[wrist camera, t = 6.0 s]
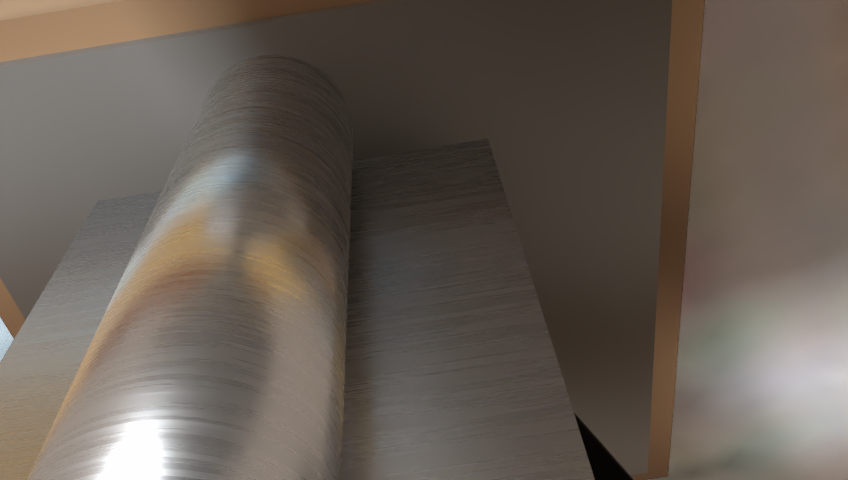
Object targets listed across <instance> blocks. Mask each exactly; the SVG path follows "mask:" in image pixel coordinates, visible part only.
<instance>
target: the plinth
mask: <svg viewBox="0 0 848 480" xmlns="http://www.w3.org/2000/svg"><path fill="white" fill-rule="evenodd" d="M704 5H705V0H0V317H1V319H2V320H3V322H4V324H5V325H6V327H7V328H8V330H9V332H10V333H11V335H12V336H13V338H14V339H15V337H16V335H17V334H18V332H19V330H20V329H21V327H22V325H23V324H24V322H25V320H26V319H27V317H28V315H29V314H30V312H31V310H32V309H33V307H34V305H35V304H36V302H37V300H38V299H39V297H40V295H41V294H42V292H43V290H44V289H45V287H46V285H47V284H48V282H49V280H50V279H51V277H52V275H53V274H54V272H55V270H56V269H57V267H58V265H59V264H60V262H61V260H62V259H63V257H64V256H65V254H66V252H67V251H68V249H69V247H70V246H71V244H72V242H73V241H74V239H75V237H76V236H77V234H78V232H79V231H80V229H81V227H82V226H83V224H84V222H85V221H86V219H87V217H88V216H89V214H90V212H91V211H92V209H93V207H94V206H95V204H96V202H97V201H101V200H108V199H114V198H120V197H126V196H132V195H139V194H145V193H151V192H157V191H162V190H163V188H164V186H165V183H166V181H167V179H168V177H169V175H170V173H171V171H172V168H173V166H174V164H175V162H176V160H177V158H178V156H179V154H180V151H181V149H182V147H183V145H184V143H185V141H186V139H187V136H188V134H189V132H190V130H191V128H192V126H193V124H194V121H195V119H196V117H197V115H198V113H199V111H200V109H201V106H202V104H203V102H204V100H205V98H206V96H207V94H208V92H209V90H210V88H211V86H212V85H213V83H214V82H215V81H216V79H217V78H218V77H219V76H220V75H221V74H222V73H223V72H224V71H225V70H227V69H228V68H229V67H231V66H233V65H234V64H236V63H238V62H240V61H243V60H245V59H248V58H252V57H256V56H262V55H282V56H289V57H293V58H296V59H300V60H302V61H305V62H307V63H310V64H311V65H313V66H315V67H317V68H318V69H320V70H321V71H323V72H324V73H325V74H327V75H328V76H329V77H330V78H331V79H332V80H333V81H334V82H335V83H336V84H337V86H338V87H339V88H340V89H341V91H342V92H343V94H344V96H345V97H346V99H347V102H348V104H349V106H350V109H351V113H352V118H353V160H357V159H364V158H370V157H376V156H382V155H389V154H395V153H401V152H407V151H414V150H420V149H426V148H432V147H439V146H445V145H451V144H457V143H464V142H470V141H476V140H482V139H488V140H489V144H490V147H491V150H492V153H493V156H494V160H495V163H496V166H497V169H498V172H499V176H500V179H501V182H502V185H503V188H504V191H505V195H506V198H507V201H508V204H509V207H510V211H511V214H512V217H513V220H514V223H515V227H516V230H517V233H518V236H519V239H520V242H521V246H522V249H523V252H524V255H525V258H526V262H527V265H528V268H529V271H530V274H531V278H532V281H533V284H534V287H535V290H536V294H537V297H538V300H539V303H540V306H541V309H542V313H543V316H544V319H545V322H546V325H547V329H548V332H549V335H550V338H551V341H552V345H553V348H554V351H555V354H556V357H557V361H558V364H559V367H560V370H561V373H562V376H563V380H564V383H565V386H566V389H567V392H568V396H569V399H570V402H571V405H572V408H573V412H574V413H575V414H576V415H577V416H578V417H579V418H580V419H581V420H582V422H583V423H584V424H585V425H586V426H587V427H588V428H589V429H590V430H591V431H592V433H593V434H594V435H595V436H596V437H597V438H598V439H599V440H600V441H601V443H602V444H603V445H604V446H605V447H606V448H607V449H608V450H609V451H610V453H611V454H612V455H613V456H614V457H615V458H616V459H617V460H618V461H619V463H620V464H621V465H622V466H623V467H624V468H625V469H626V470H627V471H628V473H629V474H630V475H631V476H632V477H633V478H634V479H635V480H646V479H653V478H660V477H667V476H668V470H669V457H670V444H671V431H672V418H673V405H674V392H675V379H676V367H677V354H678V341H679V328H680V315H681V302H682V289H683V276H684V263H685V250H686V238H687V225H688V212H689V199H690V186H691V173H692V160H693V147H694V134H695V121H696V108H697V96H698V83H699V70H700V57H701V44H702V31H703V18H704Z"/></svg>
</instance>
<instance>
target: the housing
mask: <svg viewBox="0 0 848 480" xmlns="http://www.w3.org/2000/svg"><path fill="white" fill-rule="evenodd" d="M0 480H595V479H594V475H593V472H592V469H591V466H590V463H589V459H588V456H587V453H586V450H585V447H584V443H583V440H582V437H581V434H580V431H579V428H578V424H577V421H576V418H575V415H574V412H573V408H572V405H571V402H570V399H569V396H568V392H567V389H566V386H565V383H564V380H563V376H562V373H561V370H560V367H559V364H558V361H557V357H556V354H555V351H554V348H553V345H552V341H551V338H550V335H549V332H548V329H547V325H546V322H545V319H544V316H543V313H542V309H541V306H540V303H539V300H538V297H537V294H536V290H535V287H534V284H533V281H532V278H531V274H530V271H529V268H528V265H527V262H526V258H525V255H524V252H523V249H522V246H521V242H520V239H519V236H518V233H517V230H516V227H515V223H514V220H513V217H512V214H511V211H510V207H509V204H508V201H507V198H506V195H505V191H504V188H503V185H502V182H501V179H500V176H499V172H498V169H497V166H496V163H495V160H494V156H493V153H492V150H491V147H490V144H489V140H488V139H482V140H476V141H470V142H464V143H457V144H451V145H445V146H439V147H432V148H426V149H420V150H414V151H407V152H401V153H395V154H389V155H382V156H376V157H370V158H364V159H357V160H353V118H352V113H351V109H350V106H349V104H348V102H347V99H346V97H345V96H344V94H343V92H342V91H341V89H340V88H339V87H338V86H337V84H336V83H335V82H334V81H333V80H332V79H331V78H330V77H329V76H328V75H327V74H325V73H324V72H323V71H321V70H320V69H318V68H317V67H315V66H313V65H311V64H310V63H307V62H305V61H302V60H300V59H296V58H293V57H289V56H282V55H262V56H256V57H252V58H248V59H245V60H243V61H240V62H238V63H236V64H234V65H233V66H231V67H229V68H228V69H227V70H225V71H224V72H223V73H222V74H221V75H220V76H219V77H218V78H217V79H216V81H215V82H214V83H213V85H212V86H211V88H210V90H209V92H208V94H207V96H206V98H205V100H204V102H203V104H202V106H201V109H200V111H199V113H198V115H197V117H196V119H195V121H194V124H193V126H192V128H191V130H190V132H189V134H188V136H187V139H186V141H185V143H184V145H183V147H182V149H181V151H180V154H179V156H178V158H177V160H176V162H175V164H174V166H173V168H172V171H171V173H170V175H169V177H168V179H167V181H166V183H165V186H164V188H163V190H162V191H157V192H151V193H145V194H139V195H132V196H126V197H120V198H114V199H108V200H101V201H97V202H96V204H95V206H94V207H93V209H92V211H91V212H90V214H89V216H88V217H87V219H86V221H85V222H84V224H83V226H82V227H81V229H80V231H79V232H78V234H77V236H76V237H75V239H74V241H73V242H72V244H71V246H70V247H69V249H68V251H67V252H66V254H65V256H64V257H63V259H62V260H61V262H60V264H59V265H58V267H57V269H56V270H55V272H54V274H53V275H52V277H51V279H50V280H49V282H48V284H47V285H46V287H45V289H44V290H43V292H42V294H41V295H40V297H39V299H38V300H37V302H36V304H35V305H34V307H33V309H32V310H31V312H30V314H29V315H28V317H27V319H26V320H25V322H24V324H23V325H22V327H21V329H20V330H19V332H18V334H17V335H16V337H15V339H14V340H13V342H12V344H11V345H10V347H9V349H8V350H7V352H6V354H5V355H4V357H3V359H2V360H1V362H0Z"/></svg>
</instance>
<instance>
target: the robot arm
mask: <svg viewBox="0 0 848 480" xmlns="http://www.w3.org/2000/svg"><path fill="white" fill-rule="evenodd" d="M574 415H575V418H576V421H577V424H578V428H579V431H580V434H581V437H582V440H583V443H584V447H585V450H586V453H587V456H588V459H589V463H590V466H591V469H592V472H593V475H594V479H595V480H635V479H634V478H633V477H632V476H631V475H630V474H629V473H628V471H627V470H626V469H625V468H624V467H623V466H622V465H621V464H620V463H619V461H618V460H617V459H616V458H615V457H614V456H613V455H612V454H611V453H610V451H609V450H608V449H607V448H606V447H605V446H604V445H603V444H602V443H601V441H600V440H599V439H598V438H597V437H596V436H595V435H594V434H593V433H592V431H591V430H590V429H589V428H588V427H587V426H586V425H585V424H584V423H583V422H582V420H581V419H580V418H579V417H578V416H577V415H576V414H575V413H574Z"/></svg>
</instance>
